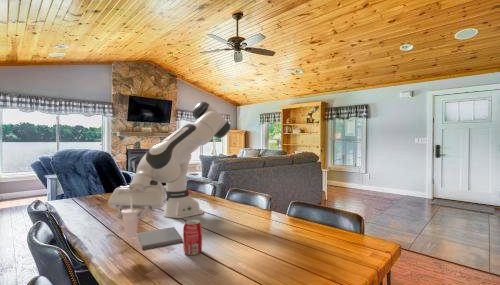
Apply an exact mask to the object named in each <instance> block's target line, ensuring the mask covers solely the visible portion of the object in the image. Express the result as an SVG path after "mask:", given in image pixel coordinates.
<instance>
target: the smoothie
mask: <svg viewBox="0 0 500 285" xmlns="http://www.w3.org/2000/svg"><path fill="white" fill-rule="evenodd" d="M139 213H141V209H139V208H132V198H131V208H127V209H124V210H122V211H121V214H122V216H123V219H122V222H123V224H122V225H123V231H124V236H125V239H132V238H136V236H137V235H138V224H139V220H140V219H139V218H138V215H139Z"/></svg>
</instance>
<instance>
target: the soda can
mask: <svg viewBox="0 0 500 285" xmlns="http://www.w3.org/2000/svg"><path fill="white" fill-rule="evenodd" d="M182 230H183V233H182V234H183V235H182V243H183V244H182V246H183V253H184V254H186V255H188V256H195V255H198V254H199V253H201V252H202V249H203V225H202V223H201V220H200V219H197V218H191V219H186V220H185V222H184V225H183V228H182Z"/></svg>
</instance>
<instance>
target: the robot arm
mask: <svg viewBox="0 0 500 285" xmlns="http://www.w3.org/2000/svg"><path fill="white" fill-rule="evenodd" d="M191 113H192V116H193V118H194V119H195V121H194V122H193V123H187V124H184V125H182V126H181V127H179V128H178V129H177V130H175V131H174V132H172V133H171V134H170V135H168V136H167V137H165V138H164V139H163V140H161V141H160V142H158V143H155V144H153V145H152V146H151V147H149V149H147V152H146V153H145V154H144V155H143V156H142V158H140V160H139V163H138V164H137V167H136V170H135V171H136V173H135V174H134V175H133V177H132V179H131V182H130V184H129V185H126V186H125V185H120V186H117V187H116V188H115V189H114V190H113V192H112V194H111V195H110V197H109V199H108V201H107V204H108V206H109V207H110V209H112V210H113V209H116V210H117V215H116V218H117V219H118V220H123V216H122V214H121V211H122V210H124V209H127V208H131V198H132V208H139V209H140V210H142V212H140V213H139V215H138V218H139V219H138V220H144V218H145V216H146V215H147V214H148V213H149V212H150V210H161V209H162V208H163V206H164V203H165V208H164V211H163V217H165V218H174V219H175V218H176V219H183V218H184V219H185V218H188V217H194V216H198V215H202V214H204V209H202V208H201V207H200V204H199V201H198V200H197V199H196V198H194V197H192V196H191V195H192V190H190V189H187V174H188V170H189V168H188V167H189V164H190V161H191V159H192V153H193V152H194V151H197V150H198V148H200V146H205V145H206V144H208V143H209V142H210V141H211V140H212V139H213V138H214V137H216V138H217V139H222V138H224V137H226V136H227V135H228V134H229V133H230V130H231V124H230V122H229V121H227V119H226V118H225V117H224V116H223V115H222V114H221V113H220V112H219V111H218V110H216V109H215V108H214V107H213V106H211V105H210V104H209V103H208V102H206V101H201V102H199V103H196V105H195V106H194V107H193V109H192V112H191ZM164 183H165V186H166V190H165V188H164V185H163V184H164ZM164 194H165V195H164Z"/></svg>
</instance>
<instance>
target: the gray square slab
mask: <svg viewBox="0 0 500 285" xmlns="http://www.w3.org/2000/svg"><path fill="white" fill-rule="evenodd" d="M137 237H138V241H139V244H140V248H141V250H147V249H152V248H153V249H154V248H158V247H163V246H169V245H173V244H178V243H183V236H181V234H180V232H178V230H177V229H176V228H175V227H174V226H172V227H166V228H160V229H154V230H149V231H148V230H147V231H142V232H141V231H140V232H137Z"/></svg>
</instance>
